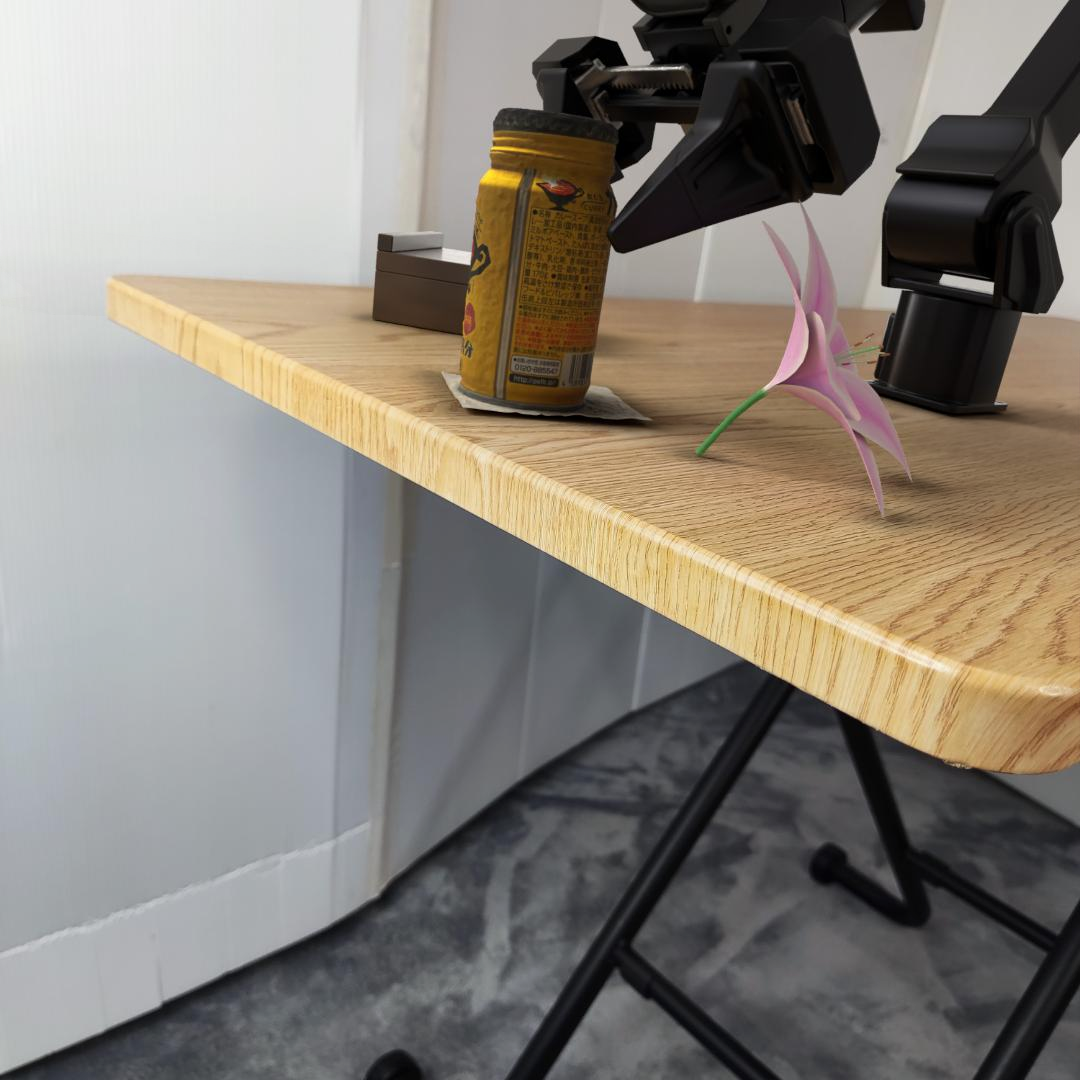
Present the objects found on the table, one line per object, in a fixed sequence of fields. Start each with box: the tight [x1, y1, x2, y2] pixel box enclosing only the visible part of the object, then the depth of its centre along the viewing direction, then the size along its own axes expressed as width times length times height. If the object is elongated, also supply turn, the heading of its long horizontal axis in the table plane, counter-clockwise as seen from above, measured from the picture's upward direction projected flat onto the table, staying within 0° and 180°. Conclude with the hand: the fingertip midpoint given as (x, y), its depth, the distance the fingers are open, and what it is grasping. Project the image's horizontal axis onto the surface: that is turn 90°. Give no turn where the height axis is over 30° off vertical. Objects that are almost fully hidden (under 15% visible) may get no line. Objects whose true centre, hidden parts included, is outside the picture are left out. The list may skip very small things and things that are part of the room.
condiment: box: [440, 107, 654, 422], centre depth 42 cm, size 7×8×12 cm
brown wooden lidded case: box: [371, 230, 472, 336], centre depth 62 cm, size 11×10×5 cm
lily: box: [695, 200, 913, 519], centre depth 36 cm, size 12×12×10 cm
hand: (552, 231), depth 41 cm, fingers open, 9 cm apart
